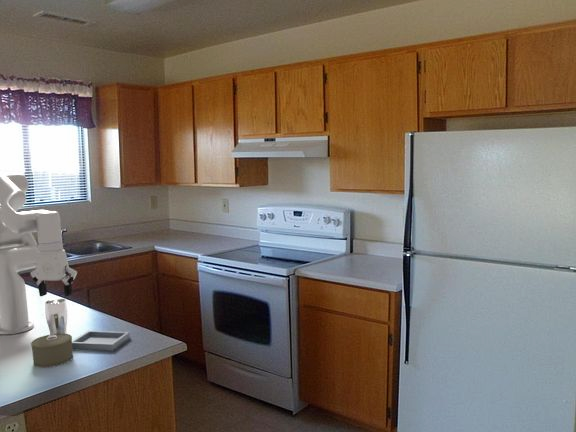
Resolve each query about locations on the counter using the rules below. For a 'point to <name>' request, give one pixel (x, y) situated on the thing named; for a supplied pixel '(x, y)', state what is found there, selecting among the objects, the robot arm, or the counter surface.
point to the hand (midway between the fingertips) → (55, 295)
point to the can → (52, 350)
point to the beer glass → (56, 316)
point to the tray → (100, 340)
